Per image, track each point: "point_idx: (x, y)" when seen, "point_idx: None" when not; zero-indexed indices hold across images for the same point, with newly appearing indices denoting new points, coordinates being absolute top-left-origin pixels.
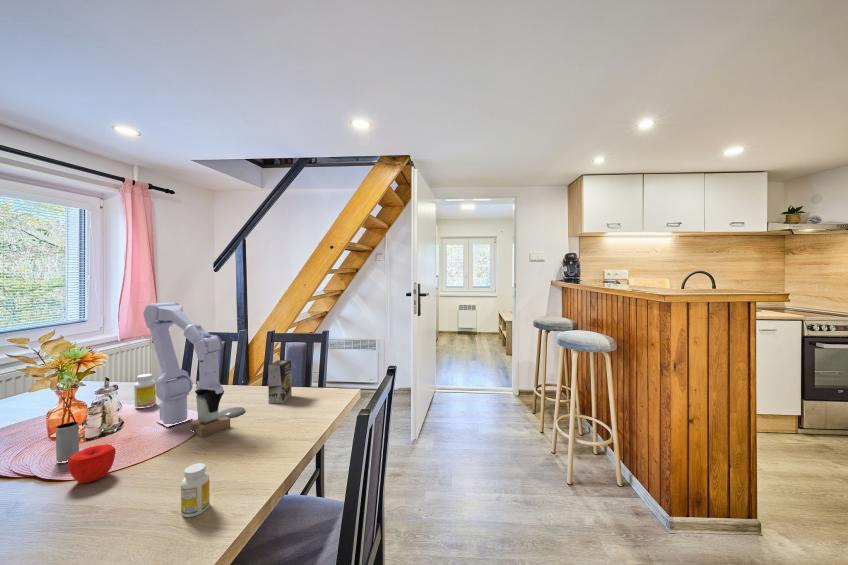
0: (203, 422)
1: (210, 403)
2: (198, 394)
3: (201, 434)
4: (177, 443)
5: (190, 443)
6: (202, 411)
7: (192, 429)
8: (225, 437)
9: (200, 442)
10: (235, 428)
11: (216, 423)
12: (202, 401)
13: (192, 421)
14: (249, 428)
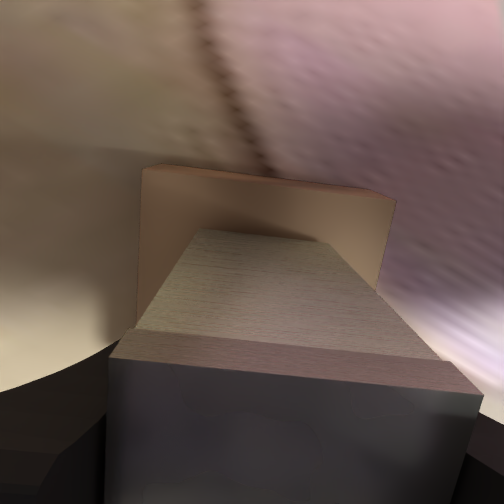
0: (222, 231)
1: (76, 370)
2: (493, 458)
3: (172, 166)
4: (232, 3)
5: (135, 54)
6: (217, 261)
7: (327, 186)
8: (6, 235)
9: (83, 102)
10: (93, 348)
11: (139, 287)
12: (165, 321)
13: (381, 219)
14: (9, 384)
